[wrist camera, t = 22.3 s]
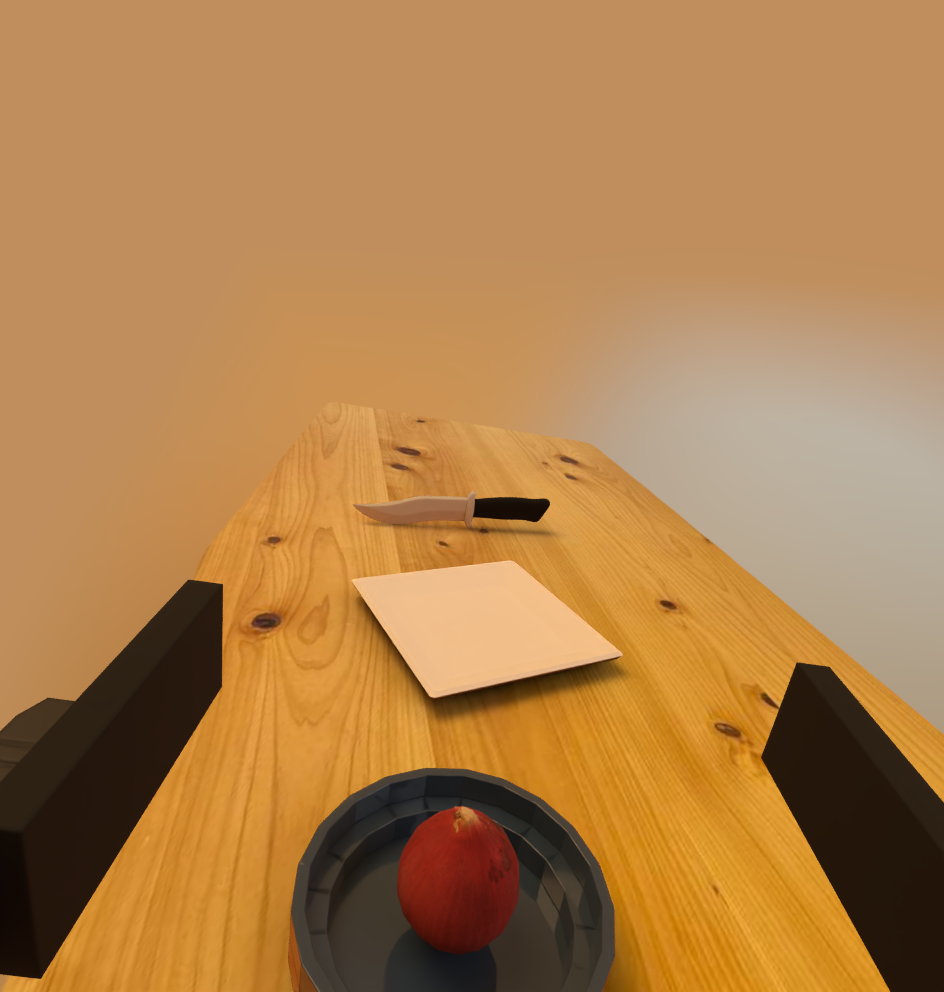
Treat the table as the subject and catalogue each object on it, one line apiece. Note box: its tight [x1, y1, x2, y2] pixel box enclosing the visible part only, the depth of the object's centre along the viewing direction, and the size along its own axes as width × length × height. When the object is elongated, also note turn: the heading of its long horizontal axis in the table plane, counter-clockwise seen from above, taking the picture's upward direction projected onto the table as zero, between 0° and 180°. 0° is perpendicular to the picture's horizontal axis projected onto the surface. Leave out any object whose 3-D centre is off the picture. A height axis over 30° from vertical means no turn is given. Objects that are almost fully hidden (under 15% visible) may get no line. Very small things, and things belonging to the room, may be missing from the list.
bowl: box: [288, 768, 615, 992], centre depth 32 cm, size 15×15×4 cm
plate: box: [352, 560, 622, 700], centre depth 60 cm, size 19×19×2 cm
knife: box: [353, 491, 550, 527], centre depth 82 cm, size 25×2×5 cm, turn 100°
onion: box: [397, 806, 519, 955], centre depth 31 cm, size 6×6×8 cm
